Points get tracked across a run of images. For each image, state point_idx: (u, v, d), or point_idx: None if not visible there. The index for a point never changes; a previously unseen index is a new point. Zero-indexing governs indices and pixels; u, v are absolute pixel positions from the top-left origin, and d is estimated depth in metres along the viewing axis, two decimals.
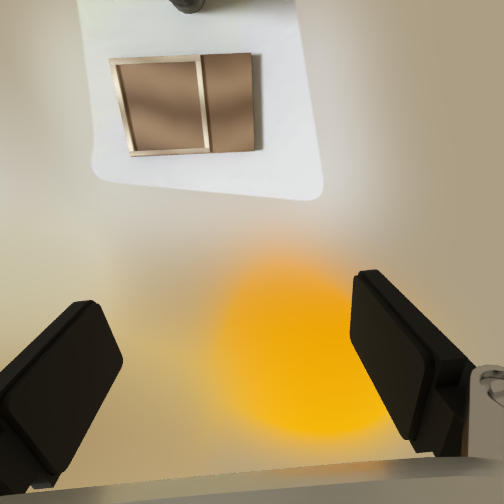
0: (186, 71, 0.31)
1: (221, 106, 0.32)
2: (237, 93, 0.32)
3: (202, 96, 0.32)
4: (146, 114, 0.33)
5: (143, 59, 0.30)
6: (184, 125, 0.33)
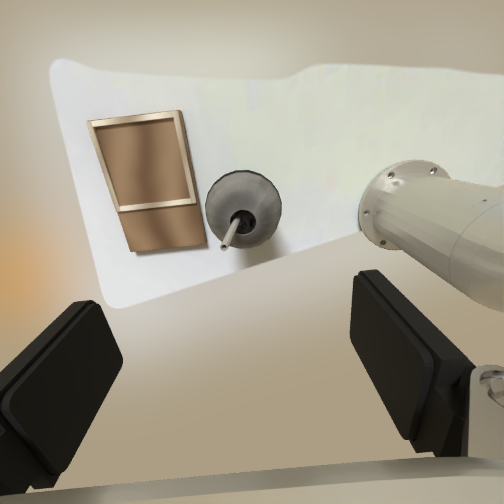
0: (182, 189, 0.33)
1: (161, 221, 0.35)
2: (174, 234, 0.35)
3: (164, 204, 0.33)
4: (136, 145, 0.31)
5: (183, 148, 0.31)
6: (135, 185, 0.33)
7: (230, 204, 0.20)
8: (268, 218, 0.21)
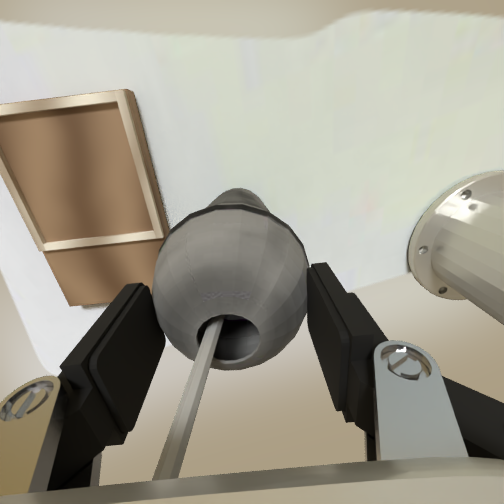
0: (141, 217, 0.21)
1: (112, 264, 0.23)
2: (133, 282, 0.24)
3: (113, 240, 0.21)
4: (60, 148, 0.19)
5: (137, 154, 0.19)
6: (66, 211, 0.21)
7: (196, 299, 0.08)
8: (288, 323, 0.09)
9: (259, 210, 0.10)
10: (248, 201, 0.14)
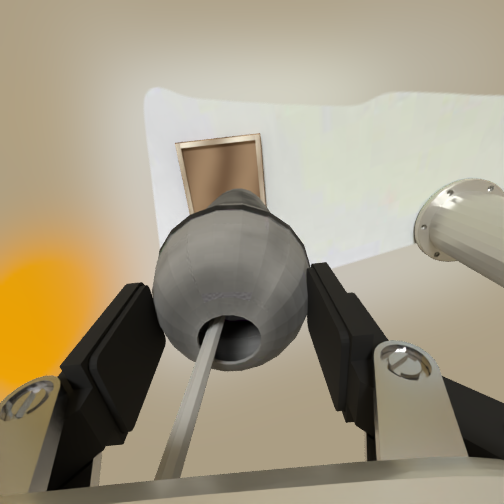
0: None
1: None
2: None
3: None
4: (217, 164, 0.33)
5: (260, 168, 0.33)
6: (212, 200, 0.35)
7: (197, 300, 0.08)
8: (289, 323, 0.09)
9: (260, 210, 0.10)
10: (249, 201, 0.14)
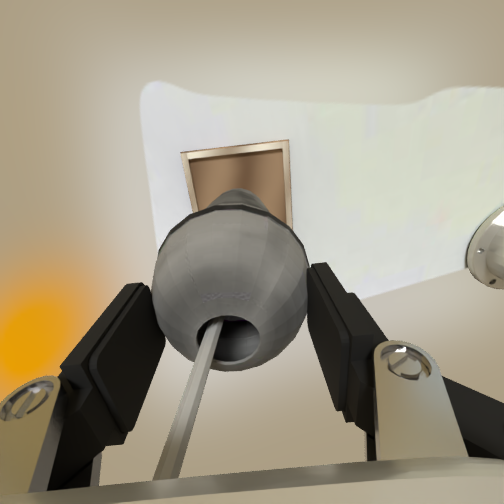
0: None
1: None
2: None
3: None
4: (233, 179, 0.27)
5: (288, 183, 0.26)
6: None
7: (196, 300, 0.08)
8: (288, 324, 0.09)
9: (259, 210, 0.10)
10: (248, 201, 0.14)
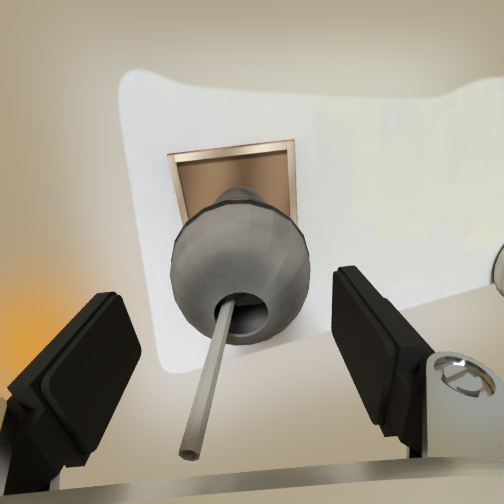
0: None
1: None
2: None
3: None
4: (229, 185, 0.23)
5: (293, 190, 0.23)
6: None
7: (214, 280, 0.09)
8: (292, 301, 0.10)
9: (265, 204, 0.12)
10: (252, 197, 0.16)
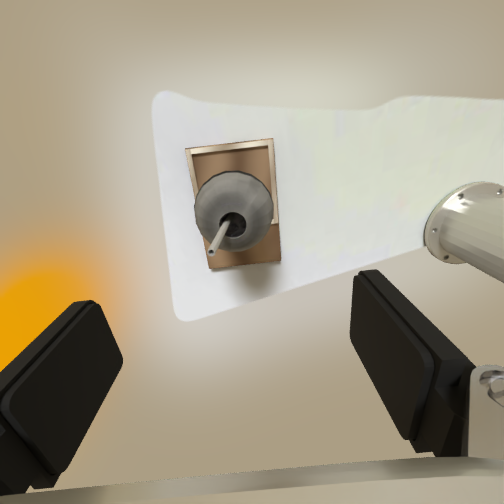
0: None
1: None
2: (253, 252, 0.37)
3: None
4: (228, 170, 0.32)
5: (273, 173, 0.32)
6: None
7: (219, 206, 0.19)
8: (259, 220, 0.20)
9: (247, 173, 0.21)
10: None
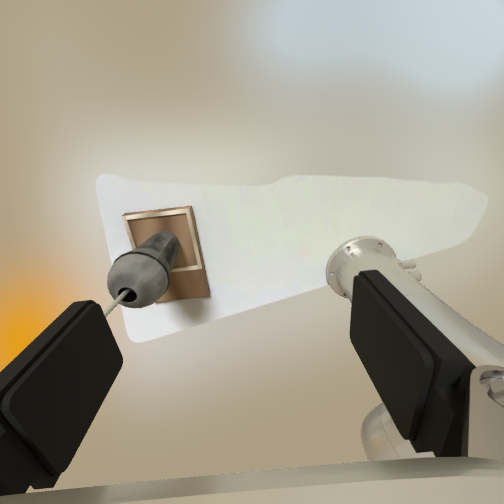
0: (191, 259, 0.44)
1: (175, 281, 0.45)
2: (185, 290, 0.46)
3: (177, 270, 0.44)
4: (158, 230, 0.41)
5: (192, 233, 0.41)
6: None
7: (117, 283, 0.28)
8: (147, 290, 0.29)
9: (145, 253, 0.30)
10: (153, 245, 0.34)
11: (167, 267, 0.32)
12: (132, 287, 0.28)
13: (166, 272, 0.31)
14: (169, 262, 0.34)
